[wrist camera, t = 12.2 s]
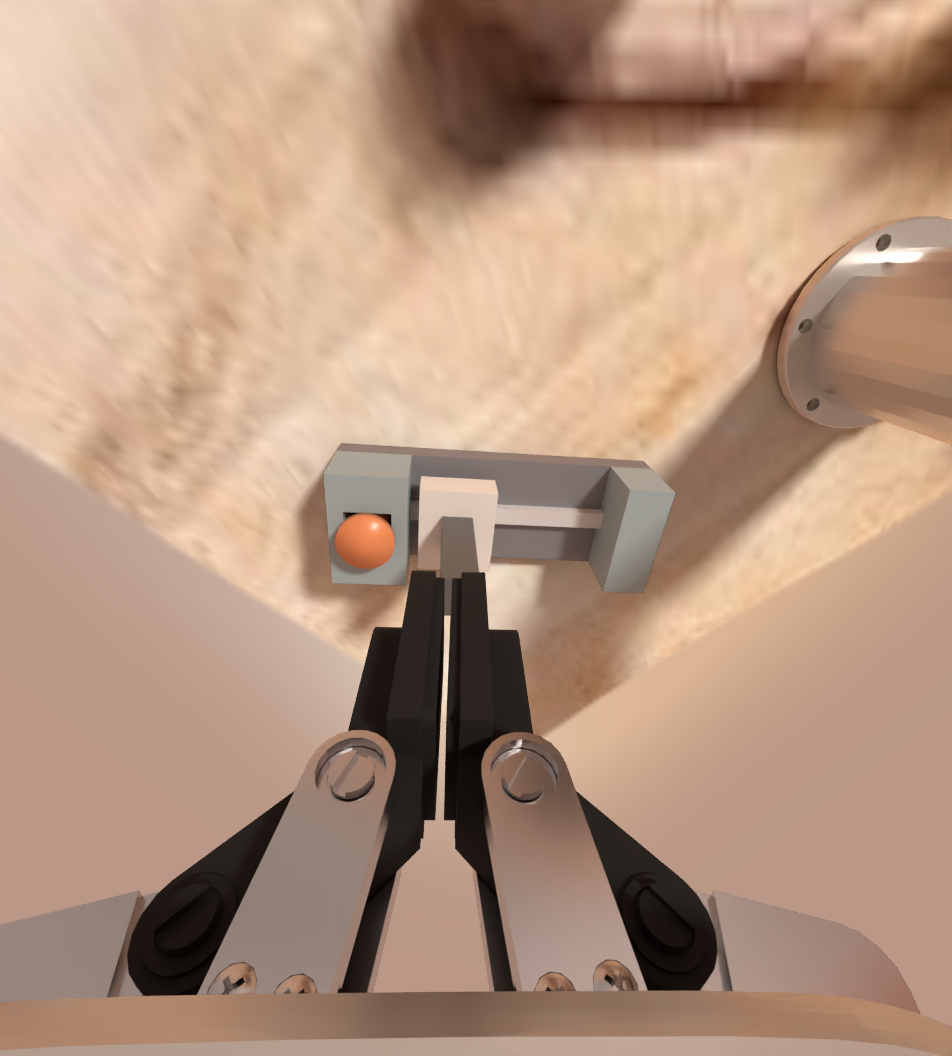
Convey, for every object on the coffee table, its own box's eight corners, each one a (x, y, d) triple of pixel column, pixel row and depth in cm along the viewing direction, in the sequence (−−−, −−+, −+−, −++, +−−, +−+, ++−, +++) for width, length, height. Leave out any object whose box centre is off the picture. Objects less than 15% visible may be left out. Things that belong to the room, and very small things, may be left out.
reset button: (400, 486, 32) (394, 520, 28) (400, 531, 34) (394, 570, 30) (348, 483, 32) (332, 517, 28) (350, 529, 34) (336, 568, 29)
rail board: (643, 461, 35) (675, 492, 30) (618, 552, 38) (643, 593, 34) (341, 443, 33) (323, 473, 28) (346, 541, 36) (332, 583, 32)
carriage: (495, 480, 32) (512, 552, 24) (486, 554, 35) (499, 641, 27) (421, 476, 31) (413, 548, 23) (418, 551, 34) (411, 639, 26)
